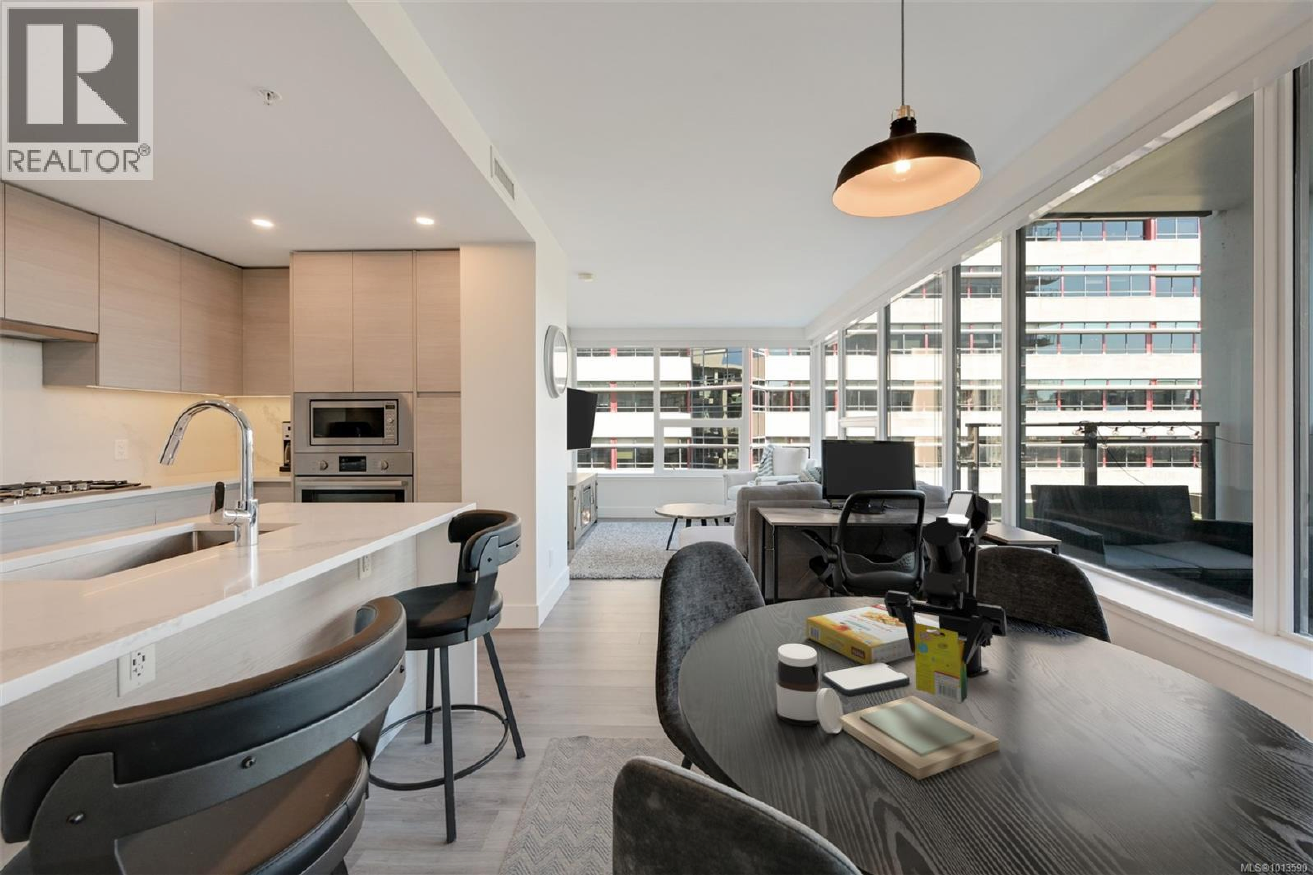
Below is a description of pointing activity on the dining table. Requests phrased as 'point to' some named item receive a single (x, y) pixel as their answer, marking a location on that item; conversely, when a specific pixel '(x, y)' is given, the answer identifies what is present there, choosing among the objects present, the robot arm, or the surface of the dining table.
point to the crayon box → (940, 663)
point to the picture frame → (918, 736)
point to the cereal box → (864, 634)
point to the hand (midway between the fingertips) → (938, 657)
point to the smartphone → (865, 678)
